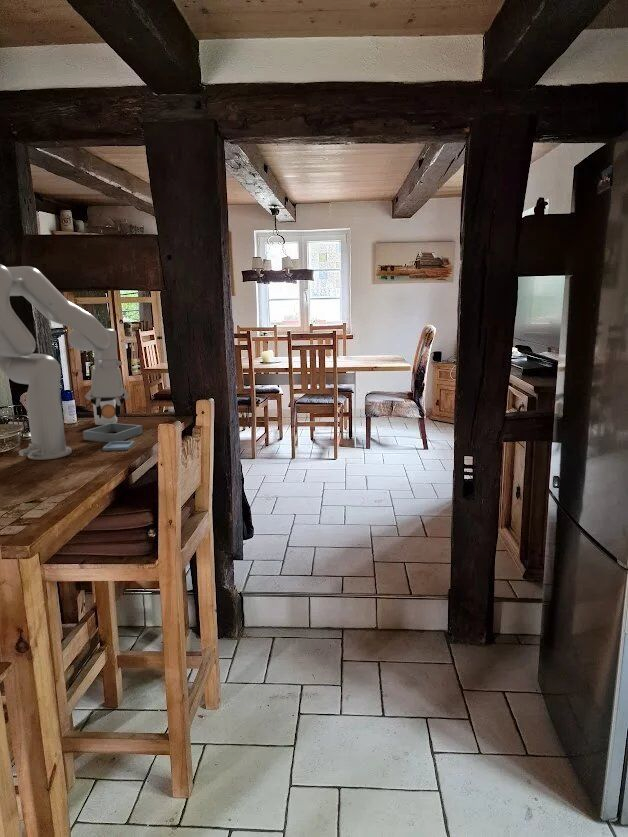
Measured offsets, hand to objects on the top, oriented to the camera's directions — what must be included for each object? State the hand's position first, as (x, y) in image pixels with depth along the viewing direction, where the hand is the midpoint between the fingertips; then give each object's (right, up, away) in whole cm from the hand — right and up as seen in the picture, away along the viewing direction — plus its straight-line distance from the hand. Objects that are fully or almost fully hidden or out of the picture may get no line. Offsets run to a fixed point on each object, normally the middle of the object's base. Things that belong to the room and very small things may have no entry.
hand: (108, 416), depth 194 cm
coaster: (+8, -10, -12) cm, 17 cm away
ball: (0, -1, 0) cm, 1 cm away
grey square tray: (+1, -7, +3) cm, 8 cm away
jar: (-10, -3, +25) cm, 27 cm away
